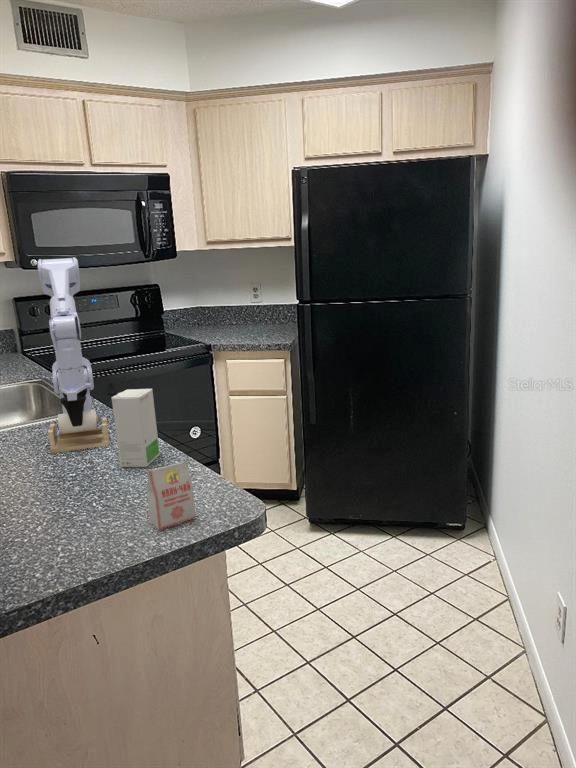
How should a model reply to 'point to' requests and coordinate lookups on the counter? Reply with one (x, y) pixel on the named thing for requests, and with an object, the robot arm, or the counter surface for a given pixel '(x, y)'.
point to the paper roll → (87, 425)
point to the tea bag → (170, 495)
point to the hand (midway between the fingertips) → (78, 422)
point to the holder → (78, 439)
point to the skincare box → (135, 427)
